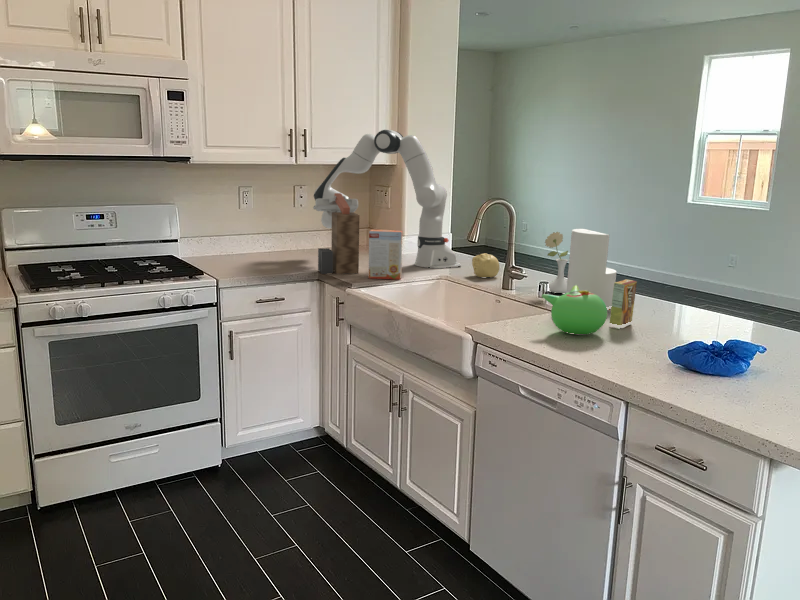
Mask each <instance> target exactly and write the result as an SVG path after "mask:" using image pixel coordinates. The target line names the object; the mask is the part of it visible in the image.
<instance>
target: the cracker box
mask: <svg viewBox="0 0 800 600" xmlns="http://www.w3.org/2000/svg"><path fill="white" fill-rule="evenodd" d="M368 233H369V234H368V235H369V236H368V279H374V280H394V281H395V280H397V281H399V280H401V279H402V272H403V269H402V268H403V267H402V266H403V265H402V264H403V230H397V229H396V230H393V229H392V230H390V229H370V230H369V231H368Z"/></svg>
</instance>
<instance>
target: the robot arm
mask: <svg viewBox="0 0 800 600" xmlns="http://www.w3.org/2000/svg"><path fill="white" fill-rule="evenodd" d="M380 153H382V154H387V155H391V154H392V155H393V154H399V155H400V156H401V158H402V159H403V162H404V164H405V167H406V169H407V172H408V174H409V176H410V178H411V181H412V186H413V189H414V192H415V196H416V202H417V204H418V205H419V206H421V207H422V208H421V209H422V210H421V214H420V217H419V224H418V225H419V226H418V228H419V229H418V230H419V231H418V236H417V253H416V258H415V262H414V266H417V267H421V268H428V267H430V269H447V268H446V267H451V268H459V267H458V266H461V267H462V264H461V263H460V262H458V261H457V260H458V259H457V255H456V253H455V252H454V250H452V249H451V248H450V247H449V246H448V245H446V243H448V242H449V239H448V237H444V236H443V221H444V214H445V210H446V209H445V208H446V203H447V197H448V193H447V190H446V188H445V187H444V186H443V185H442V184H440V183H437V181H436V178H435V174H434V169H433V166H432V164H431V162H430V159H429V157H428V155H427V153H426V150H425V149H424V146H423V145H422V143H421V142H420V140H419V138H418V137H417V136H416V135H413V134H409V135H406V136H403V134H401V132H398V131H395V130H392V129H382V130H379V131H378V132H377V133H376V134H375V135H374V134H371V133H365V134H364V135H362V136H361V138H360V139H359V141H357V144H356V146H355V147H354V149H353V151H352V152H351V153H350V155H348V156H347V157H342V158H341V159H340V160H339V161H338V162H336V164H335V165H334V167H333V168H332V170H330V172H329V174H327V177H325V179H324V180H323V182H321V183H320V184H319V185H318V186H317V188H316V189H315V190H314V192H313V198H314V201H315V204H314V206H313V207H312V208H313V209H312V210H316V211H317V212H322V215H321V219H320V222H321V225H322V226H323V227H325V228H327V229H332V212H341V210H340V208H339V207H338V205H337V203H336V202H335V201H336V199H337V198H336V196H335V193H341V194H342V196H343V197H344V199H345V201H346V202H347V204H348V205H349V207H350V212H354V213H355V212H356V211H357V209H358V208H359V200H358V198H350V197H349V196H348V195H346V194H344V193H342V192H340V191H339V190H336V189H334V188H333V187H332V184H333V183H334V182H335V180H336V179H337V178H338V176H339V175H340V174H342V173H351V174H364V173H366V172H368V171H369V170H370V168H371V167H372V165H373V163H374V161H375V160H376V158H377V156H378V154H380Z"/></svg>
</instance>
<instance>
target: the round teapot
mask: <svg viewBox="0 0 800 600" xmlns="http://www.w3.org/2000/svg"><path fill="white" fill-rule="evenodd" d="M541 297H542V299H544V300H545V301H547V303H549V304H550V305H552V307H551V312H550V315H551V319H552V322H553V324H554V325H555V326H556V327H557V328H558V330H560V331H561V332H563V331H564V333H565V332H568V333H574V334H586V335H590V334H593V333H595V332H596V331H598V330H600V329H601V328H602V327H603V326H604V325H605V322H606V321H607V317H608V310H607V308H606V305H605V303H604V302H603V300H602V299H601V298H600V297H599V296H597V295H595V294H593V293H591V292H589V291H583V290H579V288H578V286H577V285H575V286H573V288H572V289H571V291H570V292H568V293H565V294H560V295H553V294H547V293H546V294H545V293H544V294H541ZM568 333H567V334H568ZM589 333H590V334H589Z"/></svg>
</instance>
